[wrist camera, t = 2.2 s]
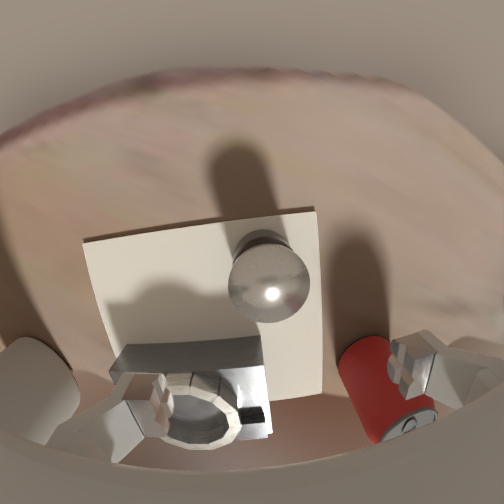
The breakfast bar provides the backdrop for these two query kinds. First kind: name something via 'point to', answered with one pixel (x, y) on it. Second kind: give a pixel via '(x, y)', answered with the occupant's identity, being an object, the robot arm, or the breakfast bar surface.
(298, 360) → the mat
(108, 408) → the robot arm
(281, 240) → the lens
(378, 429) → the beer can
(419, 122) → the breakfast bar surface
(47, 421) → the cylinder vase
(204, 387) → the camera body
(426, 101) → the breakfast bar surface
